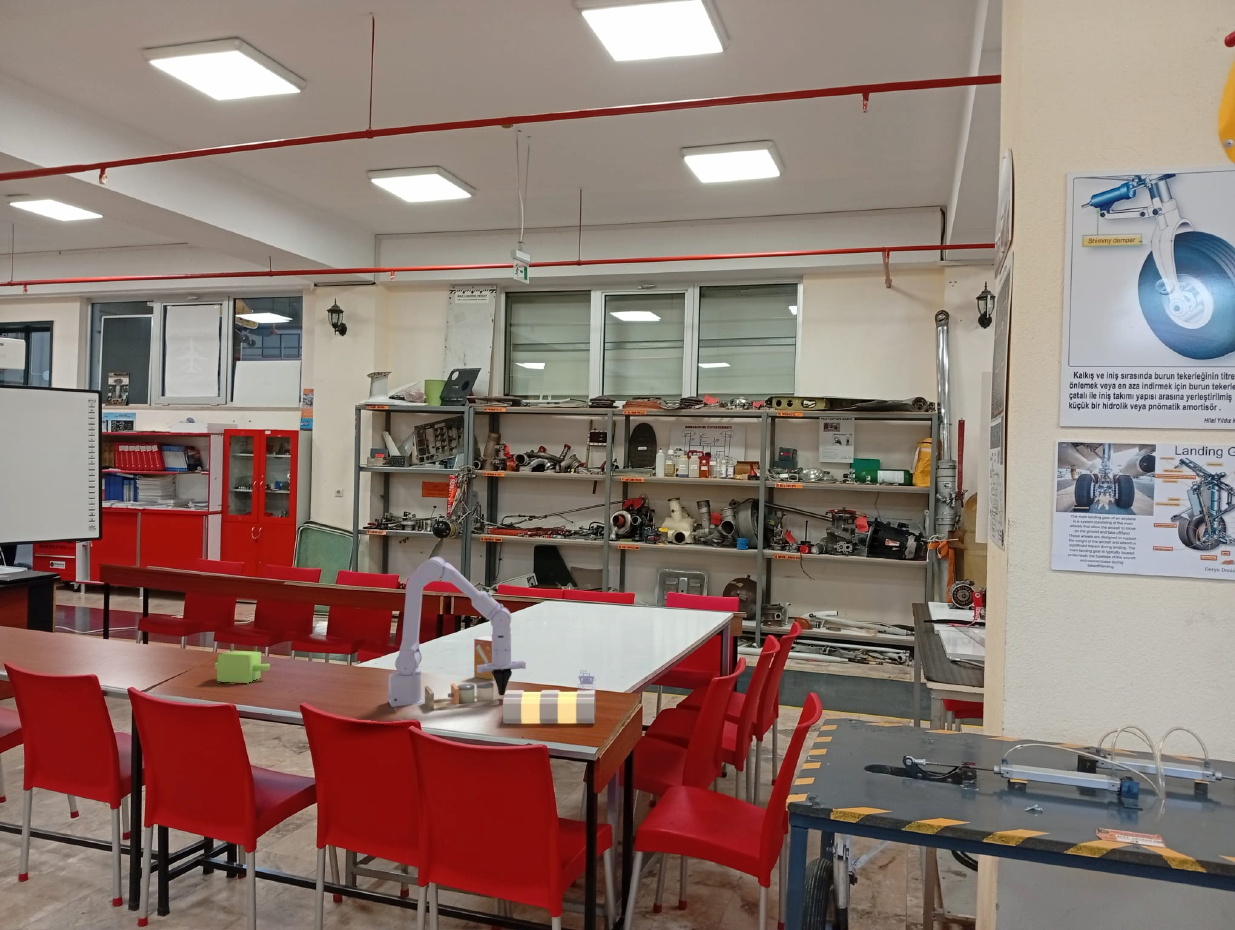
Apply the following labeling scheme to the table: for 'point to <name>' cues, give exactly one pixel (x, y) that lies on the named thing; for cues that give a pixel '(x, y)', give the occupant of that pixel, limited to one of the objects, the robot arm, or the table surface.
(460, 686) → the green jar
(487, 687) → the cream jar
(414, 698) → the robot arm
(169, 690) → the table surface
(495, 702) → the lane
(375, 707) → the table surface
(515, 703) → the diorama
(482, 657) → the small box
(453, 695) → the pusher
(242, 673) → the gearbox
